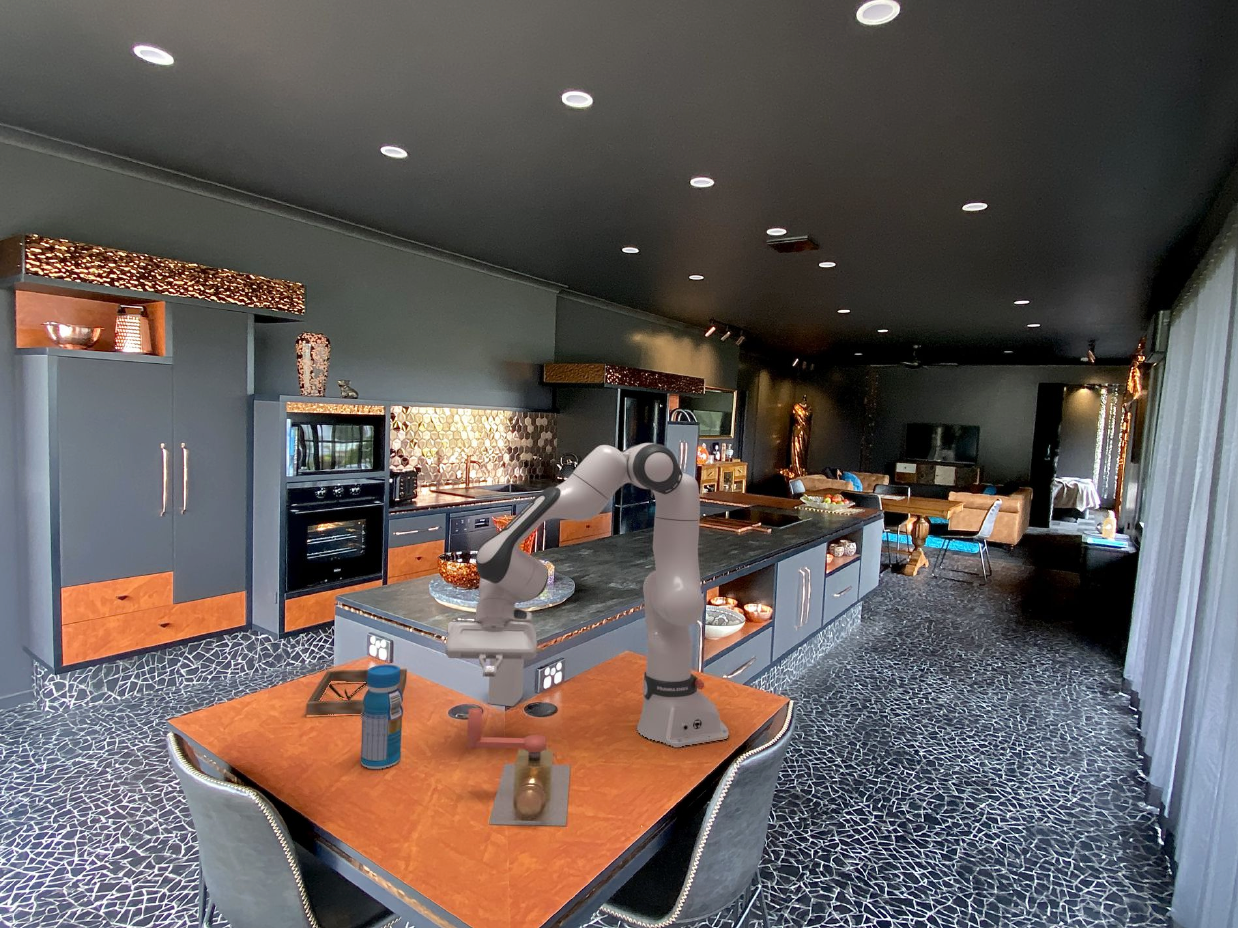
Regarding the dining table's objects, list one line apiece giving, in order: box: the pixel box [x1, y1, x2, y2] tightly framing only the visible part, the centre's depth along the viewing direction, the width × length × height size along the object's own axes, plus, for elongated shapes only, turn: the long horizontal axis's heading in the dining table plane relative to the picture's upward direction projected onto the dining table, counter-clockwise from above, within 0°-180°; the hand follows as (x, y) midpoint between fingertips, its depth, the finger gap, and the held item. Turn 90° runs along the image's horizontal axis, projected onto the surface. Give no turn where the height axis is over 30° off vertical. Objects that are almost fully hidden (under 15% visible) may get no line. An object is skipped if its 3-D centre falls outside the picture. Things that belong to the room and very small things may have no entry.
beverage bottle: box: [360, 664, 404, 770], centre depth 145 cm, size 8×8×20 cm
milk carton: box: [487, 659, 525, 707], centre depth 182 cm, size 7×7×19 cm
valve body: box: [488, 747, 571, 827], centre depth 134 cm, size 22×14×9 cm, turn 2°
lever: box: [466, 707, 547, 752], centre depth 134 cm, size 16×4×7 cm, turn 92°
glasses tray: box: [305, 668, 408, 716], centre depth 180 cm, size 21×24×4 cm
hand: (489, 675), depth 147 cm, fingers closed
